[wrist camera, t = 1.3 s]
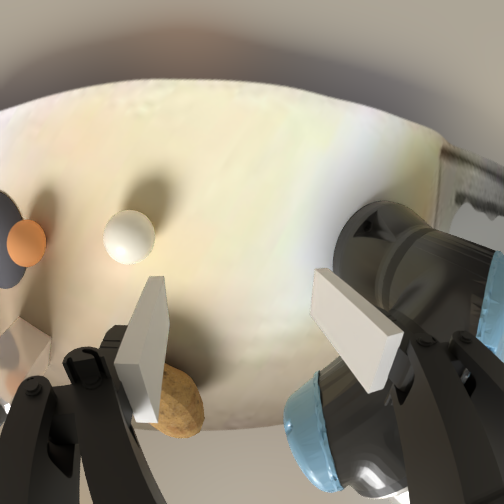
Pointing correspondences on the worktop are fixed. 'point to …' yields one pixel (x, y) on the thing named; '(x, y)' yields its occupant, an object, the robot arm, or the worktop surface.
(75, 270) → the worktop surface
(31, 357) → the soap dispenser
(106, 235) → the cue ball
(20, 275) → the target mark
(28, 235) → the object ball
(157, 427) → the potato
